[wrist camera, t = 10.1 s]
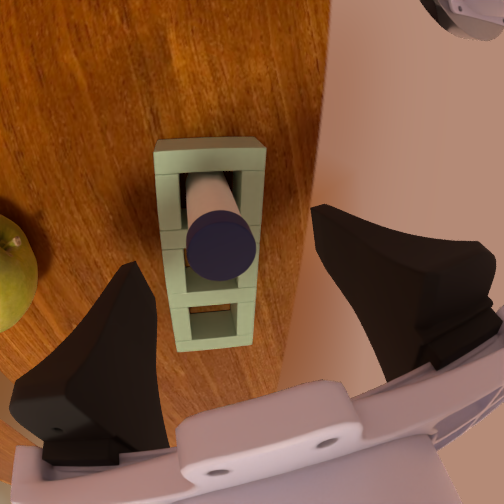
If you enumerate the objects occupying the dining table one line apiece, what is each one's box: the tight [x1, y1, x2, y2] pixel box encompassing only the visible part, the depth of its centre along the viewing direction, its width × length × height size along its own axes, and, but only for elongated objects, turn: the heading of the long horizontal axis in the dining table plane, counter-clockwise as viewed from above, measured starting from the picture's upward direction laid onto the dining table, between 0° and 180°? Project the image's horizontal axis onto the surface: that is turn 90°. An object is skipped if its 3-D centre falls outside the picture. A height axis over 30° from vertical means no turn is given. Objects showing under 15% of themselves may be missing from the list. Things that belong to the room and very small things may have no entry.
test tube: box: [185, 171, 256, 281], centre depth 16 cm, size 3×3×8 cm
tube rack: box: [153, 137, 266, 352], centre depth 21 cm, size 15×6×3 cm, turn 177°
